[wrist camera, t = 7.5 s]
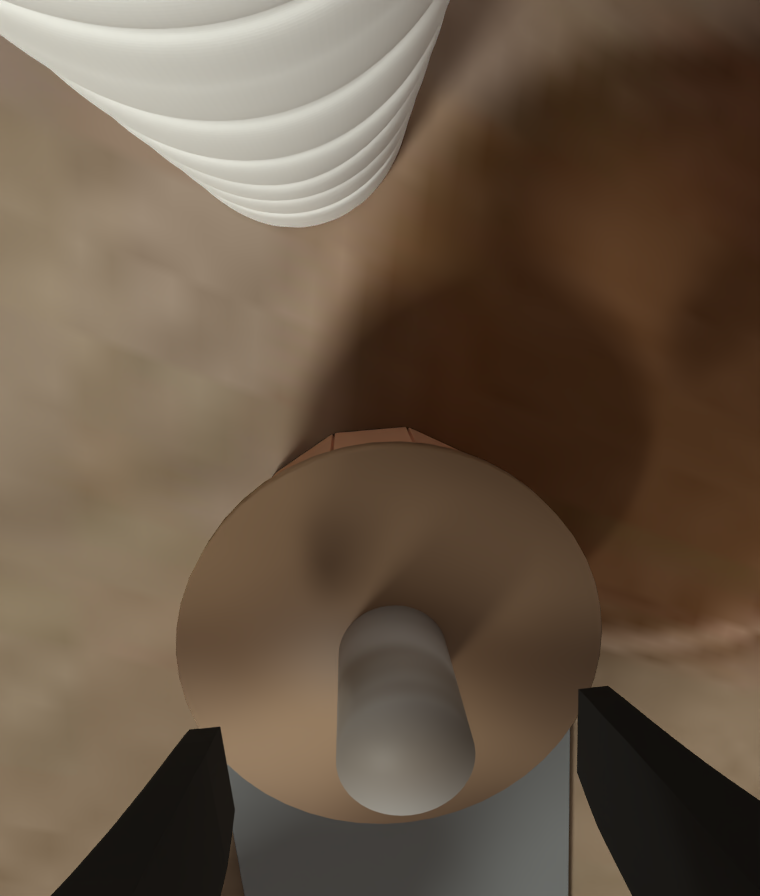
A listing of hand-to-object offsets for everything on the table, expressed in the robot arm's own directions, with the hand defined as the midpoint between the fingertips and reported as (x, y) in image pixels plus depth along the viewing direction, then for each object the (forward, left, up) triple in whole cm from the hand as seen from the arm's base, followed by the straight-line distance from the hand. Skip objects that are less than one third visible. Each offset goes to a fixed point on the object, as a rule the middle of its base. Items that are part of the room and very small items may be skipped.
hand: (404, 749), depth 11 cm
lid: (0, 0, -4) cm, 4 cm away
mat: (-13, 0, -9) cm, 16 cm away
